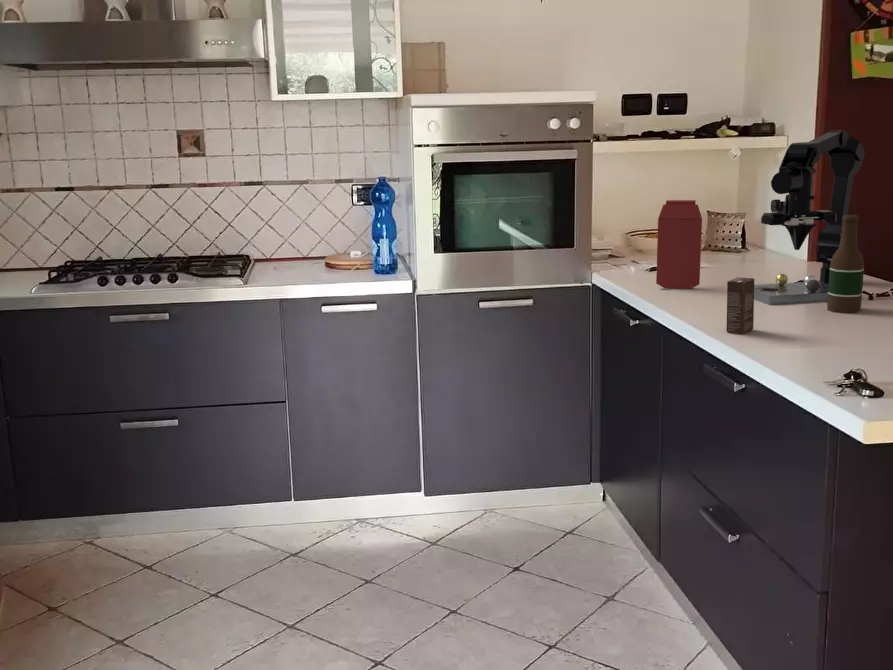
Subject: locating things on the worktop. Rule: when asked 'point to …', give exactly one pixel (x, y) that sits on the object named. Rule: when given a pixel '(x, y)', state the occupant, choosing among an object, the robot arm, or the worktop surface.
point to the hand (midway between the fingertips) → (796, 249)
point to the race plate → (789, 293)
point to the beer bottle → (846, 271)
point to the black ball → (813, 285)
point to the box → (740, 305)
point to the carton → (679, 245)
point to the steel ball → (808, 279)
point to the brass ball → (781, 279)
